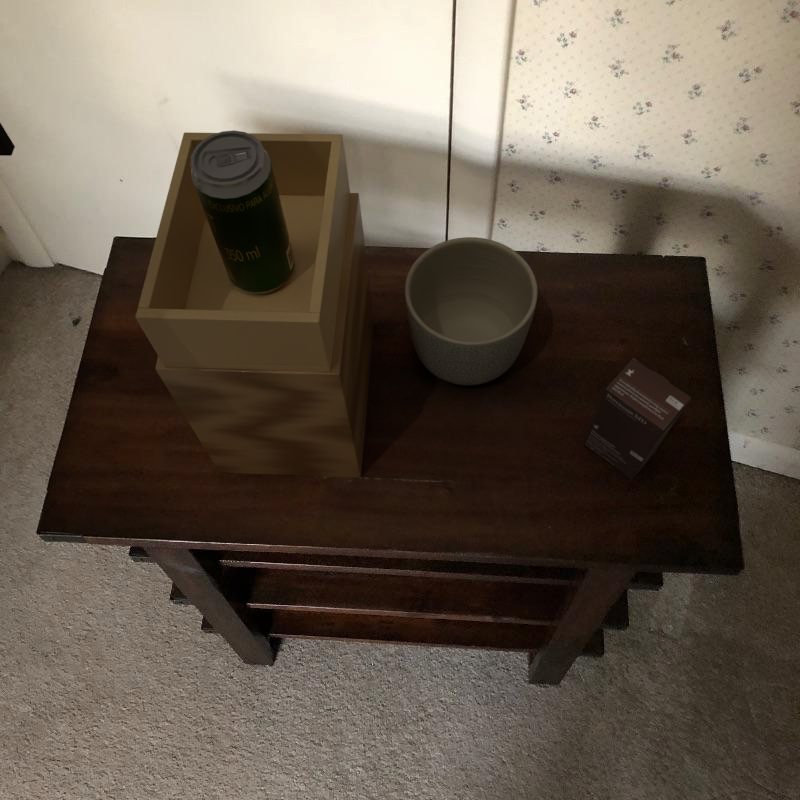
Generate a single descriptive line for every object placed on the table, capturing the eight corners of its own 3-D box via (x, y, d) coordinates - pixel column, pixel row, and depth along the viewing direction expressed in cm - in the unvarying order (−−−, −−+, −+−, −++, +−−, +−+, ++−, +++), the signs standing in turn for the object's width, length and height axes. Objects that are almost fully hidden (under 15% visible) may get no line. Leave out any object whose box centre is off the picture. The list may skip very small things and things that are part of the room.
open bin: (164, 367, 58) (134, 317, 52) (205, 191, 66) (183, 131, 60) (330, 372, 57) (318, 322, 51) (350, 194, 65) (342, 133, 59)
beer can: (289, 238, 62) (261, 121, 52) (301, 289, 60) (274, 178, 49) (224, 252, 62) (182, 137, 51) (233, 304, 59) (191, 195, 49)
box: (579, 446, 75) (604, 387, 65) (606, 416, 77) (635, 353, 66) (630, 485, 73) (664, 430, 62) (657, 453, 75) (695, 394, 64)
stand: (219, 472, 75) (154, 369, 58) (246, 320, 84) (197, 189, 66) (360, 478, 74) (339, 374, 57) (373, 324, 83) (358, 192, 65)
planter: (519, 408, 77) (532, 351, 68) (399, 393, 79) (395, 335, 69) (529, 308, 83) (542, 243, 74) (416, 296, 84) (415, 230, 75)
